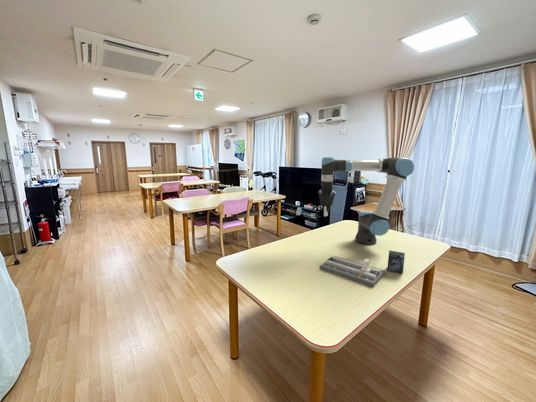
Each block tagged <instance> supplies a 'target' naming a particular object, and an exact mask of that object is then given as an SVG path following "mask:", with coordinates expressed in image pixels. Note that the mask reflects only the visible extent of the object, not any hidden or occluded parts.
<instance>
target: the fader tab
mask: <svg viewBox="0 0 536 402" xmlns="http://www.w3.org/2000/svg"><path fill="white" fill-rule="evenodd" d="M362 261H363V262H362V264H363V268H362V269H361V270H362V271H365V272H369V273H370V272H371V269H370V268H369V266H370V259H368V258H365V259H364V260H362Z"/></svg>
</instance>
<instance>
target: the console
mask: <svg viewBox="0 0 536 402" xmlns="http://www.w3.org/2000/svg"><path fill="white" fill-rule="evenodd" d="M362 268H363V263H360V262H357V261H354V260H350V259H348V258H347V259H346V258H343V257H340V256H336V255H333V256H332V255H331V256H330V257H329V258H327V259H326V260H325V262H323V263H322V264H320V265H319V269H320V270H322V271H326V272H328V273H331V274H334V275H336V276H340V277H343V278H345V279H347V280H351V281H355V282H357V283H359V284H363V285H366V286H368V287H371V288H374V287H375V286H376V285H377V284H378V283H379V282H380V280H381V279H382V278H383V277H384V276H385V275H386V270H384V269H381V268H379V267H378V268H377V267H374V266H371V265H369V268H370V269H371V272H370V273H369V272H365V271H362V270H361V269H362Z"/></svg>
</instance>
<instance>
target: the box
mask: <svg viewBox="0 0 536 402" xmlns="http://www.w3.org/2000/svg"><path fill="white" fill-rule="evenodd" d="M405 257H406V255H405V252H402V251H401V252H400V251H396V250H388V260H387V267H386V270H387V272H391V273H392V272H393V273H397V274H401V275H403V274H404V266H405Z"/></svg>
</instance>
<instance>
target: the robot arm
mask: <svg viewBox="0 0 536 402" xmlns="http://www.w3.org/2000/svg"><path fill="white" fill-rule="evenodd" d="M414 170H415V165H414V162H413V160H412V159H411V158H408V157H389V158H387V157H386V158H378V159H375V160H374V159H373V160H372V159H371V160H370V159H335V157H333V156H332V157H331V156H329V157H322V159H321V173H320V174H321V177H320V178H321V179H320V186H321V187H320V189H319V190H317V194H318V198H319V204H320V206H322V210H323V217H327V216H329V212H330V207H331V206H333V203H334V200H335V196H336V194H337V192H336V191H334V188H333V186H334V182H333V181H334V173H337V172H339V173H340V172H341V173H342V172H343V173H344V172H345V173H346V172H347V173H348V172H352V171H353V172H354V171H355V172H356V171H357V172H377V173H382V174H386V176H387V181H386V183H385V186H384V188H383V190H382V192H381V195H380V197H379V200H378V203H377V206H376V208H375V210H374V211H360V212H359V213H358V222H357V224H358V226H357V232H356V233H355V236H354V237H355V238H354V241H355V242H356V243H358V244H361V245H365V246H366V245H367V246H368V245H369V246H371V245H376V244H377V241H378V240H377V236H378V237H379V236H380V237H381V236H383V235H386V234H387V233H388V232H389V231H390V223H389V221H390V217H389V215H390V212H391V210H392V207H393V206H394V205H393V204H394V202H395V200H396V197H397V195H398V193H399V191H400V188H401V185H402V183H403V182H405V181H406V180H407V177H408V176H410V175H412V174H413V172H414Z"/></svg>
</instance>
